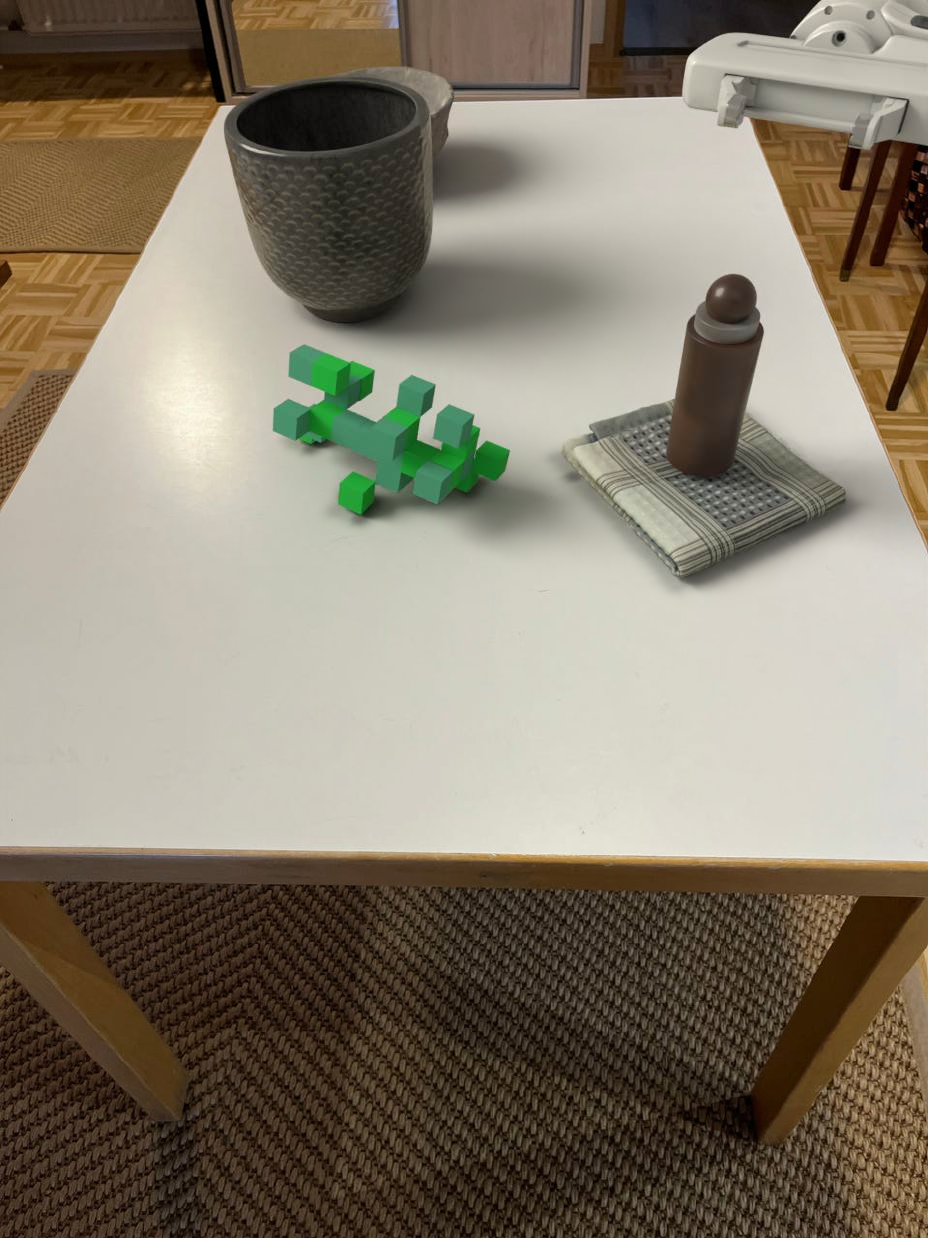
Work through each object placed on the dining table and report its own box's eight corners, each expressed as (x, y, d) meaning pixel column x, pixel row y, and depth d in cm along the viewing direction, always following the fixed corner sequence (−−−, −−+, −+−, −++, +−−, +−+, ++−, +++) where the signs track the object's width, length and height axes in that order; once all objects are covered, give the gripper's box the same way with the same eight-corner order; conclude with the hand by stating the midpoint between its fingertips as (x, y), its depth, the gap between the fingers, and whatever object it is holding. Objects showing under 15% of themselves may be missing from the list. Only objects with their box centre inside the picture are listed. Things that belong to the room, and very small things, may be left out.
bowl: (374, 132, 131) (366, 53, 124) (489, 167, 123) (488, 84, 115) (268, 185, 121) (252, 103, 114) (384, 227, 112) (376, 141, 105)
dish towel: (851, 508, 77) (862, 479, 74) (676, 588, 71) (682, 558, 69) (710, 395, 88) (716, 366, 85) (549, 456, 82) (550, 427, 80)
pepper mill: (735, 439, 79) (777, 260, 67) (732, 481, 75) (775, 300, 63) (669, 431, 80) (698, 254, 68) (662, 472, 76) (692, 293, 64)
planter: (316, 242, 110) (287, 65, 96) (468, 269, 105) (462, 85, 91) (228, 327, 99) (180, 140, 84) (394, 362, 93) (373, 168, 79)
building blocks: (507, 468, 86) (532, 360, 75) (480, 572, 79) (503, 470, 68) (300, 417, 87) (295, 302, 76) (255, 516, 80) (243, 405, 69)
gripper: (720, -1, 74) (658, 57, 66) (993, 30, 67) (959, 99, 59) (708, 85, 79) (649, 148, 71) (961, 122, 72) (926, 197, 64)
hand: (792, 126), depth 65 cm, fingers open, 8 cm apart
